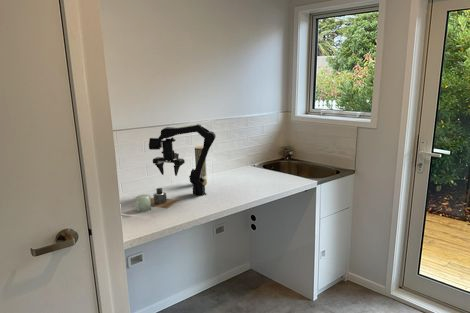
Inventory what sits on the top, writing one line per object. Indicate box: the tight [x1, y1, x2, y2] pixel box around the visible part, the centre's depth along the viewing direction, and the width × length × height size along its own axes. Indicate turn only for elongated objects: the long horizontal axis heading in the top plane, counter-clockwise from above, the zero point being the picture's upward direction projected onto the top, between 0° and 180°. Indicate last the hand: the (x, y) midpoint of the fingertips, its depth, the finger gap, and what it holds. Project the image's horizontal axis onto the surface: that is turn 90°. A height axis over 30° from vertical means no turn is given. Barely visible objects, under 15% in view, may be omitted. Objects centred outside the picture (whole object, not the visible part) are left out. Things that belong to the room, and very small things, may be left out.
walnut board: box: [150, 197, 182, 209], centre depth 200 cm, size 18×14×1 cm
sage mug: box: [135, 193, 152, 213], centre depth 189 cm, size 7×9×8 cm
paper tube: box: [194, 145, 208, 186], centre depth 234 cm, size 7×7×25 cm
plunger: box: [155, 187, 165, 196], centre depth 199 cm, size 4×4×7 cm
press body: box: [152, 192, 168, 205], centre depth 201 cm, size 7×8×5 cm
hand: (169, 175), depth 211 cm, fingers open, 9 cm apart
